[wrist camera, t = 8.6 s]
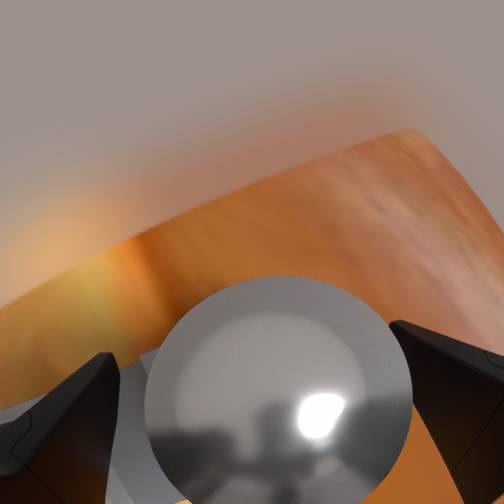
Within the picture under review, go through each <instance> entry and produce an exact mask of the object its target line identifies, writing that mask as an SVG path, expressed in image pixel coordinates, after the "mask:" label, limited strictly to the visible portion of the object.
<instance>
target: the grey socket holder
mask: <svg viewBox="0 0 504 504" xmlns="http://www.w3.org/2000/svg"><path fill="white" fill-rule="evenodd" d="M159 348H160V347H158V348H156V349H154V350H151V351H149V352H147V353H144V354H142V355H140V356H139V357H140V360H141V361H139V362H137V363H134V364H132V365H130V366H127V367H125V368H123V369H120V370H119V371H120V376H121V381H120V392H119V405H118V418H117V425H116V430H115V436H114V442H113V448H112V454H111V461H110V468H109V475H108V483H107V491H106V500H105V504H173V503H177V502H180V501H183V500H186V498H185V497H184V496H183V495H182V494H181V493H180V492H179V491H178V490H177V489H176V488H175V487H174V486H173V485H172V483H171V482H170V481H169V480H168V478H167V477H166V475H165V474H164V472H163V471H162V469H161V468H160V466H159V464H158V462H157V460H156V458H155V456H154V453H153V451H152V448H151V445H150V442H149V439H148V435H147V430H146V423H145V415H144V399H145V392H146V385H147V380H148V376H149V373H150V370H151V366H152V363H153V361H154V359H155V357H156V355H157V352H158V350H159ZM47 394H48V393H47ZM47 394H44V395H42V396H39V397H36V398H34V399H31V400H28V401H26V402H23V403H20V404H17V405H15V406H12V407H9V408H6V409H3V410H0V430H2V429H3V428H4V427H6V426H7V425H9V424H10V423H12V422H13V421H14V420H15V419H17V418H18V417H19V416H21V415H22V414H23V413H24V412H26V411H27V410H28V409H30V408H31V407H32V406H33V405H34V404H36V403H37V402H38V401H39V400H41V399H42V398H43V397H44V396H46V395H47Z"/></svg>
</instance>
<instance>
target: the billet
mask: <svg viewBox="0 0 504 504" xmlns="http://www.w3.org/2000/svg"><path fill="white" fill-rule="evenodd" d="M412 404H413V394H412V382H411V377H410V372H409V368H408V365H407V362H406V359H405V356H404V353H403V351H402V349H401V347H400V345H399V343H398V341H397V339H396V337H395V336H394V334H393V333H392V331H391V330H390V328H389V327H388V326H387V324H386V323H385V322H384V321H383V320H382V319H381V317H380V316H379V315H378V314H377V313H376V312H375V311H374V310H372V309H371V308H370V307H369V306H368V305H367V304H365V303H364V302H363V301H361V300H360V299H358V298H357V297H356V296H354V295H352V294H350V293H349V292H347V291H345V290H343V289H341V288H339V287H336V286H334V285H331V284H328V283H326V282H322V281H318V280H314V279H310V278H304V277H296V276H270V277H262V278H256V279H252V280H248V281H243V282H240V283H237V284H235V285H232V286H229V287H227V288H224V289H222V290H220V291H218V292H217V293H215V294H213V295H211V296H209V297H207V298H206V299H205V300H203V301H202V302H200V303H199V304H197V305H196V306H195V307H193V308H192V309H191V310H190V311H189V312H188V313H187V314H186V315H185V316H184V317H182V318H181V319H180V321H179V322H178V323H177V324H176V325H175V326H174V328H173V329H172V330H171V331H170V332H169V334H168V335H167V337H166V339H165V340H164V342H163V343H162V345H161V346H160V348H159V350H158V352H157V355H156V357H155V359H154V361H153V363H152V366H151V370H150V373H149V376H148V380H147V385H146V392H145V399H144V415H145V423H146V430H147V435H148V439H149V442H150V445H151V448H152V451H153V453H154V456H155V458H156V460H157V462H158V464H159V466H160V468H161V469H162V471H163V472H164V474H165V475H166V477H167V478H168V480H169V481H170V482H171V483H172V485H173V486H174V487H175V488H176V489H177V490H178V491H179V492H180V493H181V494H182V495H183V496H184V497H185V498H186V499H187V500H189V501H190V502H191V503H192V504H358V503H359V502H361V501H362V500H364V499H365V498H366V497H367V496H368V495H369V494H370V493H371V492H372V491H373V490H375V489H376V488H377V487H378V485H379V484H380V483H381V482H382V481H383V479H384V478H385V477H386V476H387V475H388V473H389V472H390V470H391V469H392V467H393V465H394V464H395V462H396V461H397V459H398V457H399V455H400V453H401V450H402V448H403V446H404V443H405V440H406V437H407V434H408V431H409V427H410V422H411V417H412Z"/></svg>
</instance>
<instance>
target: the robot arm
mask: <svg viewBox="0 0 504 504" xmlns="http://www.w3.org/2000/svg"><path fill="white" fill-rule="evenodd" d="M388 327H389V328H390V330H391V331H392V333H393V334H394V336H395V337H396V339H397V341H398V343H399V345H400V347H401V349H402V351H403V353H404V356H405V359H406V362H407V365H408V368H409V372H410V377H411V382H412V394H413V404H414V405H415V407H416V409H417V411H418V413H419V414H420V416H421V418H422V420H423V422H424V424H425V425H426V427H427V429H428V431H429V433H430V435H431V437H432V439H433V441H434V442H435V444H436V446H437V448H438V450H439V452H440V454H441V456H442V458H443V460H444V462H445V464H446V466H447V468H448V470H449V472H450V473H451V476H452V478H453V480H454V483H455V485H456V487H457V489H458V491H459V493H460V495H461V497H462V500H463V502H464V504H493V503H495V502H496V501H497V500H498V499H500V498H501V497H502V496H503V495H504V356H501V355H498V354H495V353H492V352H490V351H487V350H483V349H481V348H478V347H475V346H473V345H470V344H467V343H464V342H461V341H459V340H456V339H453V338H450V337H448V336H445V335H442V334H439V333H437V332H434V331H431V330H428V329H426V328H423V327H420V326H417V325H415V324H412V323H409V322H406V321H404V320H396V321H392V322H390V324H389V326H388ZM120 381H121V376H120V371H119V368H118V366H117V363H116V360H115V357H114V355H113V354H112V353H111V352H100V353H99V354H97V355H96V356H95V357H93V358H92V359H91V360H90V361H88V362H87V363H86V364H85V365H83V366H82V367H81V368H79V369H78V370H77V371H76V372H74V373H73V374H72V375H71V376H69V377H68V378H67V379H66V380H64V381H63V382H62V383H61V384H59V385H58V386H57V387H56V388H54V389H53V390H52V391H51V392H49V393H48V394H47V395H46V396H44V397H43V398H42V399H41V400H39V401H38V402H37V403H36V404H34V405H33V406H32V407H31V408H30V409H28V410H27V411H26V412H24V413H23V414H22V415H21V416H19V417H18V418H17V419H15V420H14V421H13V422H12V423H10V424H9V425H7V426H6V427H4V428H3V429H2V430H0V504H105V500H106V491H107V483H108V475H109V468H110V461H111V454H112V448H113V442H114V436H115V430H116V425H117V418H118V405H119V392H120Z"/></svg>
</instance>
